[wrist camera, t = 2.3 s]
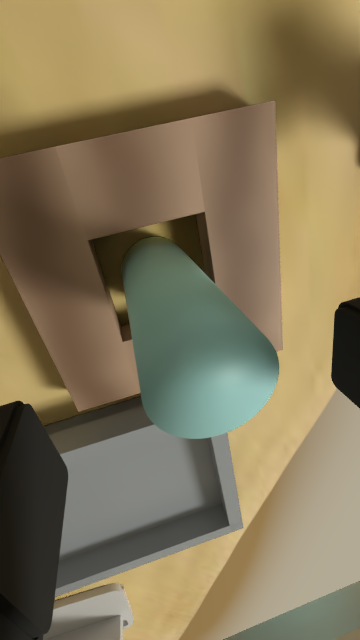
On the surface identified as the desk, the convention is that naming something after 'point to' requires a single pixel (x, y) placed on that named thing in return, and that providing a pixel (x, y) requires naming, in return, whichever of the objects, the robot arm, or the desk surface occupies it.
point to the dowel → (192, 345)
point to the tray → (137, 493)
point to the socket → (134, 212)
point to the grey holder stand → (92, 615)
